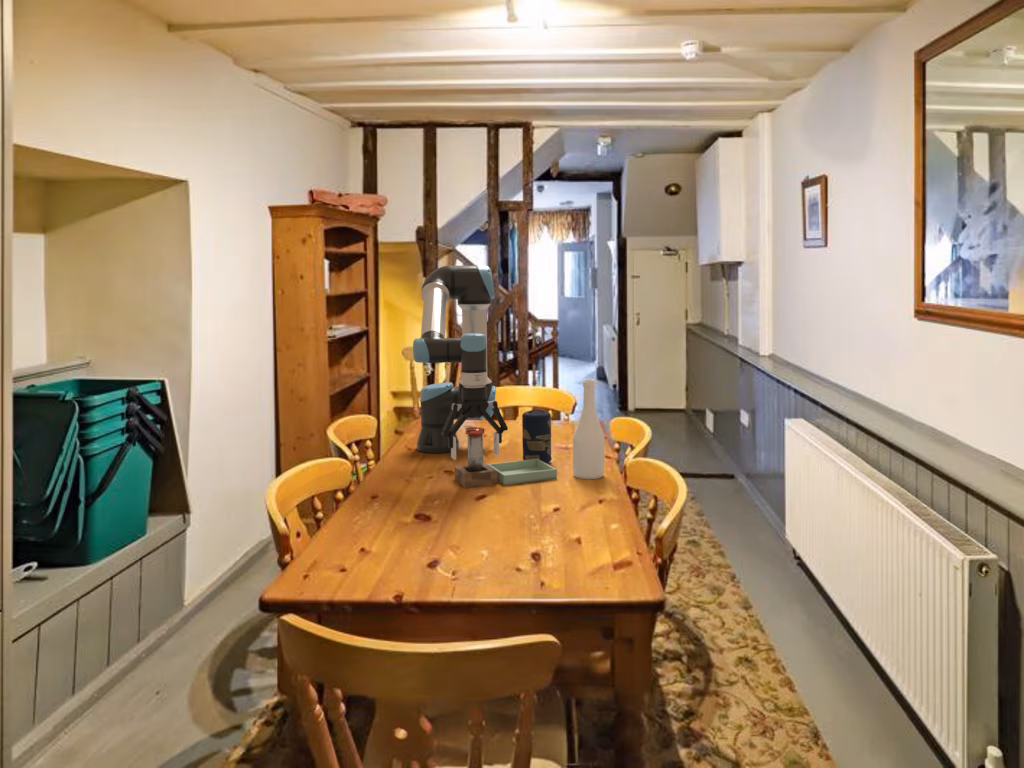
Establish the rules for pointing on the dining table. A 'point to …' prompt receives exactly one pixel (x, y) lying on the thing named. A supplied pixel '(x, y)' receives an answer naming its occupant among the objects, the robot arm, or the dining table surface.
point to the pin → (475, 448)
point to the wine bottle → (588, 439)
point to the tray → (523, 471)
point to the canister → (536, 435)
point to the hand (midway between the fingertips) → (475, 456)
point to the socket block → (475, 476)
